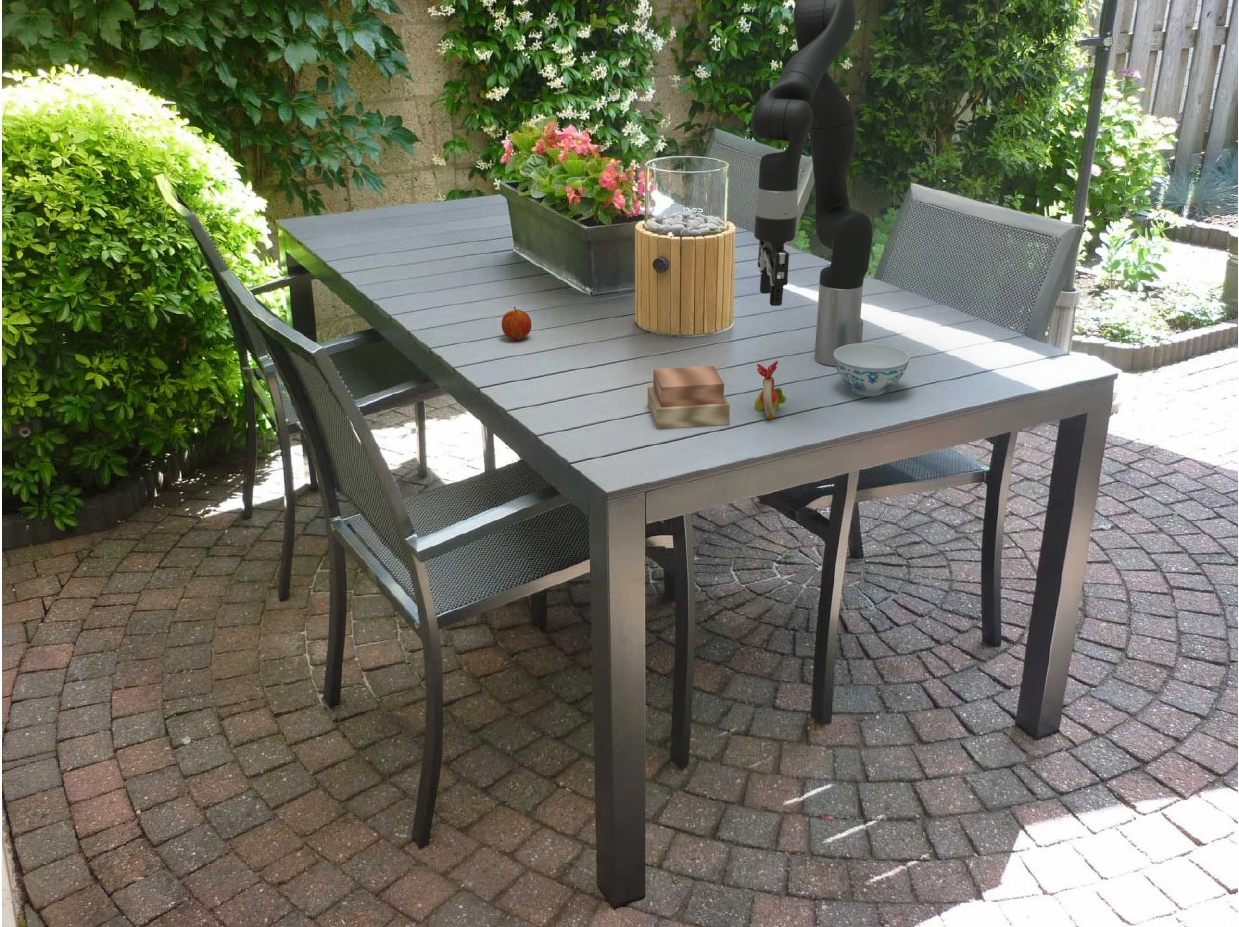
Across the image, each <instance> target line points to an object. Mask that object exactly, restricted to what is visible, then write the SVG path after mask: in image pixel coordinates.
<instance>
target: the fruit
mask: <svg viewBox="0 0 1239 927" xmlns="http://www.w3.org/2000/svg"><path fill="white" fill-rule="evenodd" d="M513 309H514V310H509V311H507V312H506V313H505V314H504V315H503V316H502V319H501V329H502V332H503V334H504V335H505V336H506V337H507V338H509V339H510V338H511V339H510V340H512V339H521V340H523V339H524V338H526V337H527V336H528V335H529V334H530V332H531V331H532V319H531V316H530V315H529V314H528V313H527V312H526V311H524V310H521V309H518V308H516V307H515V306H514V307H513ZM522 338H523V339H522Z"/></svg>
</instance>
